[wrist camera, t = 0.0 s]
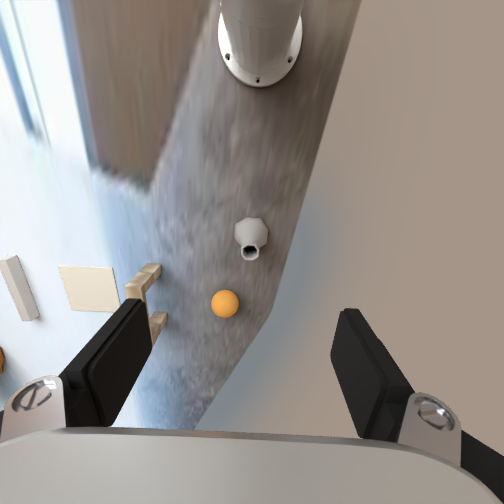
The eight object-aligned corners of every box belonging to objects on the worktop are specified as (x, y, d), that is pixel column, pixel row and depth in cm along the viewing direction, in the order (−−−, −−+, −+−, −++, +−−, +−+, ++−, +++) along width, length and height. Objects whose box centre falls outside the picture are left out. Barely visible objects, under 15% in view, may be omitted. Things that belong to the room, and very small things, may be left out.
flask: (272, 245, 49) (275, 266, 40) (239, 252, 50) (235, 275, 41) (264, 212, 46) (266, 227, 37) (229, 221, 47) (223, 237, 38)
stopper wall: (7, 254, 51) (-5, 259, 49) (16, 255, 51) (5, 260, 49) (31, 314, 57) (22, 321, 55) (39, 314, 57) (30, 321, 55)
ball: (213, 284, 53) (208, 299, 47) (239, 285, 53) (238, 300, 47) (214, 306, 55) (209, 322, 50) (239, 307, 55) (237, 324, 50)
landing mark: (58, 265, 52) (57, 265, 51) (112, 267, 52) (111, 268, 51) (72, 309, 56) (71, 310, 56) (121, 311, 56) (121, 312, 56)
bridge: (155, 318, 57) (136, 349, 48) (147, 263, 51) (124, 286, 42) (167, 318, 57) (151, 349, 48) (160, 264, 51) (140, 287, 42)
